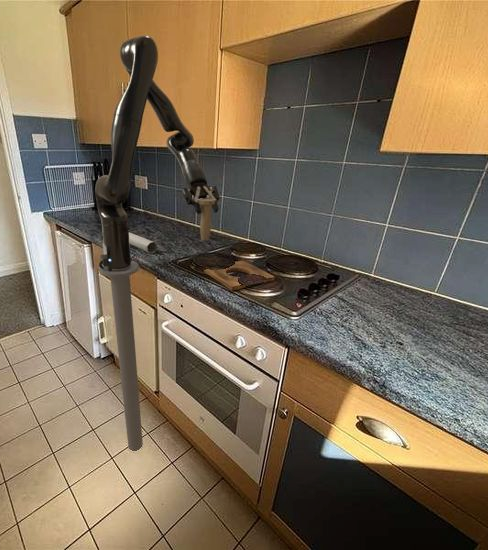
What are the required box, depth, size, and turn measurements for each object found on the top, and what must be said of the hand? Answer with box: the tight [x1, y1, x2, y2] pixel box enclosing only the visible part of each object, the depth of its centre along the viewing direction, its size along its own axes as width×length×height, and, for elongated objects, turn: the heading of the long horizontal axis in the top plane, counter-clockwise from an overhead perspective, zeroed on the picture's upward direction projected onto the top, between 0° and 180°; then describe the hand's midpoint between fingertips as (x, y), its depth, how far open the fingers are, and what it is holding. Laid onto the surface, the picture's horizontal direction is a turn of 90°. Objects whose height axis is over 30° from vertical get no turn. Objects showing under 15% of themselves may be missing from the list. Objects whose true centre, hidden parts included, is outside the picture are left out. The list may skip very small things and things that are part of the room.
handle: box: [198, 198, 215, 242], centre depth 112 cm, size 5×6×15 cm
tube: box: [129, 231, 158, 255], centre depth 138 cm, size 5×5×25 cm
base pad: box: [203, 260, 275, 292], centre depth 108 cm, size 18×18×2 cm
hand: (208, 212), depth 109 cm, fingers closed on handle, 6 cm apart
